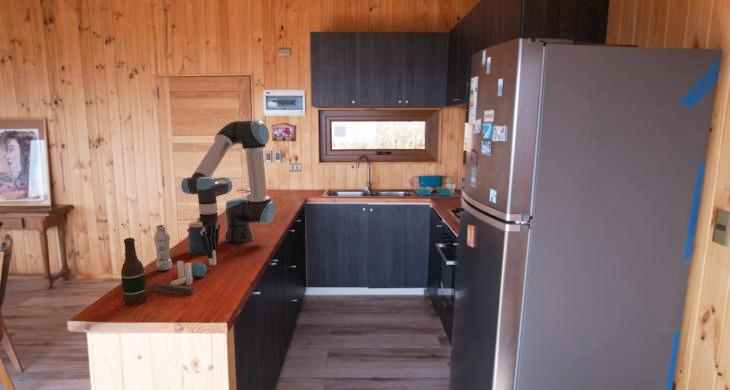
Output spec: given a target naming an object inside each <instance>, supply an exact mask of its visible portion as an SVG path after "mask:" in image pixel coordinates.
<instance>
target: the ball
mask: <svg viewBox="0 0 730 390" xmlns="http://www.w3.org/2000/svg"><path fill="white" fill-rule="evenodd" d="M207 269H208V268H207V266H206V264H204V263H203V262H197V263H195V264H194V265H193V266H191V272H192V276H194V277H197V278H201V277H204V276H205V275H206V274H207V271H208V270H207Z"/></svg>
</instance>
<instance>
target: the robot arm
mask: <svg viewBox="0 0 730 390" xmlns="http://www.w3.org/2000/svg"><path fill="white" fill-rule="evenodd" d="M269 139H270V133H269V128H268V126H267V125H266V124H265V122H263V121H261V120H235V121H231V122H229V123H227V124H225V125H224V126H223V127H222V128H221V129H220V130H219V131H218V132H217V133H216V135H215V136H214V139H213V140H214V142H213V144H212V145H211V147H210V148H209V149H208V151H207V153H206V154H205V155H204V157H203V158H202V159H201V161H200V162H199V163H200V164H199V165H198V166H197V168H196V169H195V171H194V172H193V174H192V175H191V177H185V178H183V179H182V181H181V185H180V188H181V190H182V192H183V193H184V194H186V195H193V196H194V195H197V198H198V199H197V200H198V211H199V217H200V222H202V224H203V225H202V231H199V234H200V236H201V240H202V244H203V248H204V251H208V254H207V257H208V265H209V266H216V265H217V253H216V250H217V251H218V249H219V244H220V243H219V242H220V229H221V225H220V224H218V223H217V221H219V214H218V203H217V202H218V200H217V198H218V197H220V196H223V195H226V194H228V193H230V192H231V191H232V190H233V182H232V181H231V179H229V178H228V177H225V176H224V177H218V178H216V177H214V176H213V175H214V173H215V171H216V170H217V168H218V167H219V165H220V164H221V162H222V160H223V159H224V157H225V156H226V154H227V152H228V150H230V149H232V148H233V146H235V145H241V146H242V147H241V148H242V149H243V150H244V151H245V155H246V165H247V175H248V183H249V184H248V186H249V194H250V196H249V197H237V198H233V199H229V200H227V201H226V203H225V212H226V213H225V215H226V224H227V225H226V227H227V228H226V231H225V236H224V242H225V243H227V244H228V245H229V244H232V245H239V244H240V245H241V244H246V243H250V242H252V241H254V238H255V237H254V233H253V231H252V229H251V226H250V223H253V224H270V223H271V222H272V221H273V219H274V217H275V215H276V209H277V208H276V203H275V202H274V201H272V200H271V197H270V195H268V192H267V191H268V190H267V189H268V188H267V179H266V169H265V159H264V158H265V157H264V150H265V148H266V144H268V143H269ZM215 249H216V250H215Z"/></svg>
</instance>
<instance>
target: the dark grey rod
mask: <svg viewBox="0 0 730 390" xmlns="http://www.w3.org/2000/svg"><path fill="white" fill-rule="evenodd" d="M150 292H153V293H163V294H164V293H166V294H176V295H184V296H192V295H194V294H195V287H194V286H189V285H178V286H177V285H171V284H165V283H154V282H153V283H151V284H150Z"/></svg>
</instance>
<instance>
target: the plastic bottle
mask: <svg viewBox="0 0 730 390" xmlns="http://www.w3.org/2000/svg"><path fill="white" fill-rule="evenodd" d="M155 230H156V233H155V234H154V237H153V240H154V245H155V250H156V264H155V265H156V269H157V270H159V271H167V270H170V269H172V267H173V260H172V257H171V252H170V239H171V238H170V237H171V236H170V235H169V233H168V232H167V231H166V225H165V224H159V225H156V227H155Z"/></svg>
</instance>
